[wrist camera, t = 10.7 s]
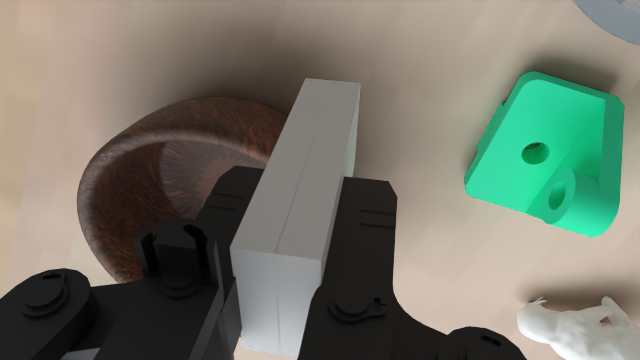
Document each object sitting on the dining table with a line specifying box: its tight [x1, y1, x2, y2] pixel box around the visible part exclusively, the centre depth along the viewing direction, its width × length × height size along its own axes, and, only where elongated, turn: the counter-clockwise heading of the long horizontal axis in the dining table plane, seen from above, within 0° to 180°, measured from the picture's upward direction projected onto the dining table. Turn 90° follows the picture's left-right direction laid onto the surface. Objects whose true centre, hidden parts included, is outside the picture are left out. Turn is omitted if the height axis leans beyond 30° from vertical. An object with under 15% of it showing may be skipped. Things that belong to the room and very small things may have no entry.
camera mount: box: [464, 71, 624, 237], centre depth 38 cm, size 12×8×10 cm, turn 166°
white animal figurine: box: [517, 296, 640, 360], centre depth 50 cm, size 6×8×12 cm
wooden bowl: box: [77, 97, 288, 337], centre depth 46 cm, size 25×25×10 cm
